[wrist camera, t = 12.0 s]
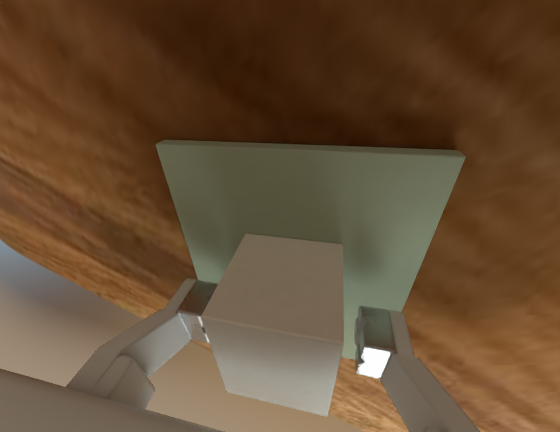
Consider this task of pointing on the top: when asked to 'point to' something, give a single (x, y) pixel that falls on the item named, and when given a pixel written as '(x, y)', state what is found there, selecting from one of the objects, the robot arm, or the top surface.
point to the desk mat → (314, 208)
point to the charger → (279, 321)
